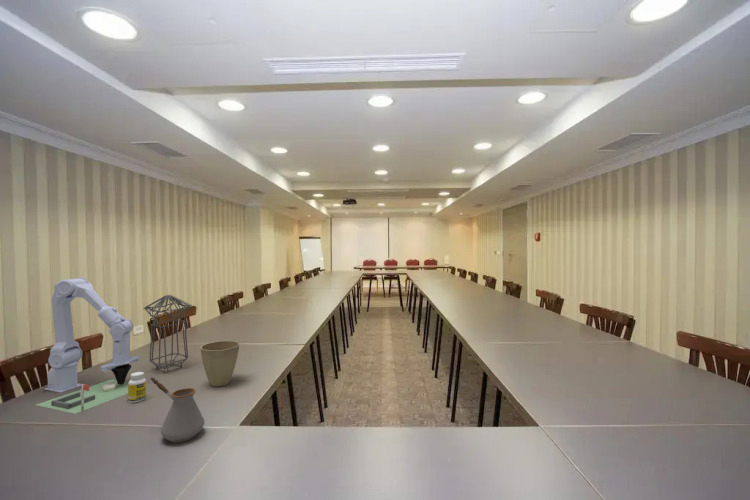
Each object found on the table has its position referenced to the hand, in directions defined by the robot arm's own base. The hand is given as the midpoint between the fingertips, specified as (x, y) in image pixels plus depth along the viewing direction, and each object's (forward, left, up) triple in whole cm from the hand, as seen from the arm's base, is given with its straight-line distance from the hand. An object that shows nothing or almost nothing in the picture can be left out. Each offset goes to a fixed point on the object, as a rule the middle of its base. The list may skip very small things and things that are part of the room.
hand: (120, 383), depth 140 cm
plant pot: (+36, +15, -1) cm, 39 cm away
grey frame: (+4, -17, -1) cm, 17 cm away
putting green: (0, -10, -1) cm, 10 cm away
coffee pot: (+51, -21, -1) cm, 55 cm away
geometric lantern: (0, +21, -1) cm, 21 cm away
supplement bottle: (+19, -8, -1) cm, 20 cm away
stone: (0, -5, -1) cm, 5 cm away
